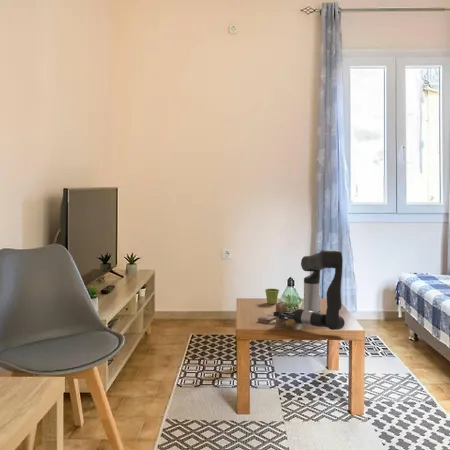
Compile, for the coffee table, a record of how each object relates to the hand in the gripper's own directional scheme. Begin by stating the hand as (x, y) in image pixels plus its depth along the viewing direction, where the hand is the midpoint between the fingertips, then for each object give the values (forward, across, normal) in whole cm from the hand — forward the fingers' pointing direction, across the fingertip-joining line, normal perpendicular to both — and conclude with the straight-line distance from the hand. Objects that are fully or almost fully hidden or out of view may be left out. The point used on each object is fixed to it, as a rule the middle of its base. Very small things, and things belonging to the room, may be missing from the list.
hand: (277, 312), depth 253 cm
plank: (-2, 0, +7) cm, 7 cm away
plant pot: (+29, -42, +7) cm, 51 cm away
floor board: (+7, -8, +7) cm, 13 cm away
